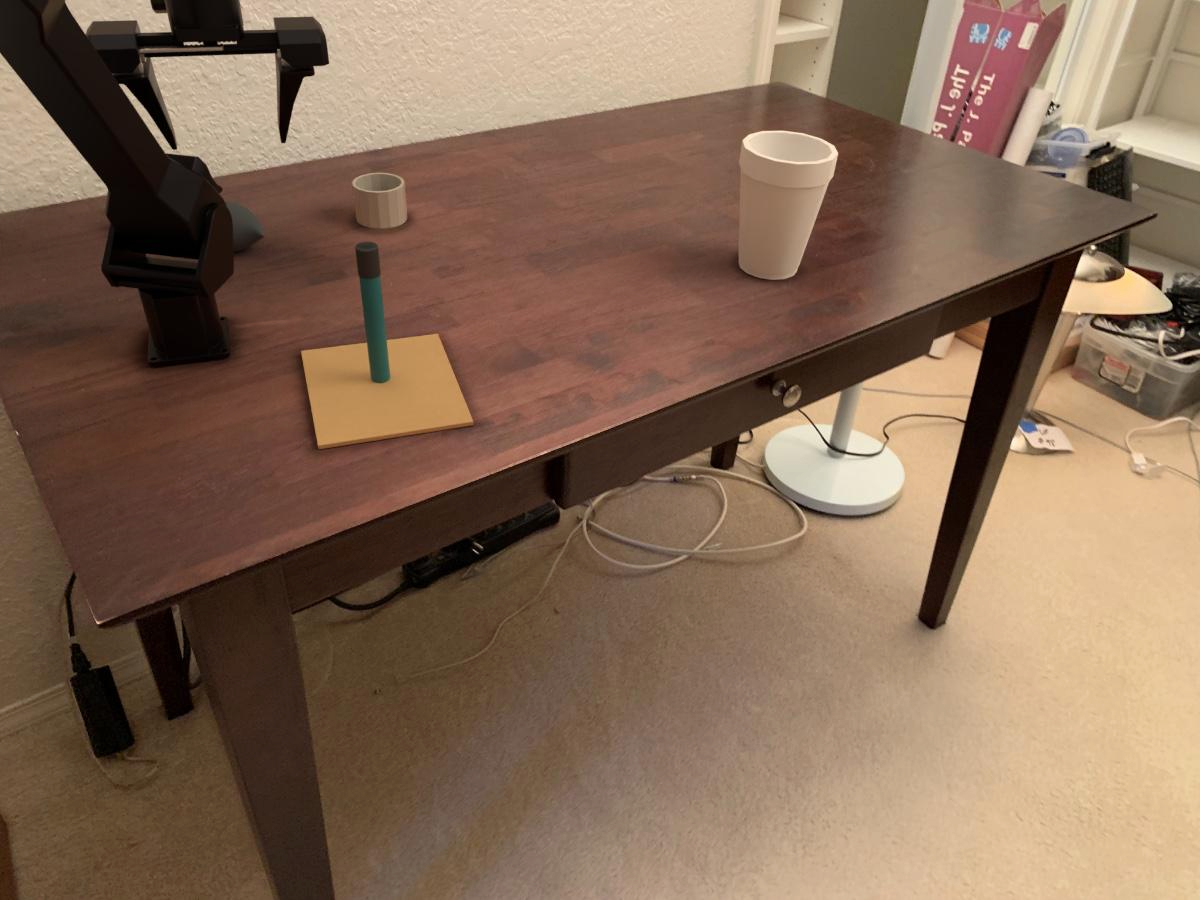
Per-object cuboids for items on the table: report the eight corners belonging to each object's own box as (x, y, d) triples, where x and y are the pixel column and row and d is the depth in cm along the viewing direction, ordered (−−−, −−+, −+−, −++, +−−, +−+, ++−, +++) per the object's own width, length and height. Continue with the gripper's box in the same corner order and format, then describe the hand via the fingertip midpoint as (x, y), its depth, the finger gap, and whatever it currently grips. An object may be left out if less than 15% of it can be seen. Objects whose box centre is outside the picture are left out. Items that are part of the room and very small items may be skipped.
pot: (411, 229, 101) (408, 190, 98) (360, 233, 99) (356, 194, 97) (402, 209, 105) (399, 171, 102) (353, 213, 103) (349, 174, 101)
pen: (392, 382, 77) (379, 249, 69) (372, 384, 76) (356, 251, 69) (389, 371, 78) (376, 240, 70) (368, 374, 77) (353, 242, 70)
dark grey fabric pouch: (89, 237, 95) (75, 190, 92) (119, 218, 99) (107, 173, 96) (264, 267, 92) (255, 220, 89) (288, 246, 96) (281, 201, 93)
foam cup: (741, 240, 104) (760, 124, 96) (821, 259, 101) (847, 142, 93) (712, 272, 97) (729, 151, 89) (796, 295, 94) (822, 171, 86)
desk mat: (473, 425, 73) (473, 421, 73) (318, 449, 70) (317, 445, 69) (438, 337, 83) (437, 333, 83) (301, 354, 80) (300, 350, 80)
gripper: (304, -67, 82) (326, 111, 91) (72, -68, 76) (121, 121, 86) (317, -42, 74) (340, 150, 83) (58, -41, 68) (114, 164, 78)
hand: (229, 145), depth 83 cm, fingers open, 9 cm apart
